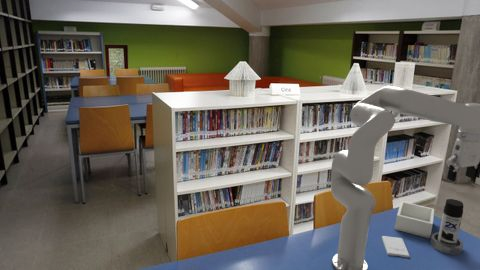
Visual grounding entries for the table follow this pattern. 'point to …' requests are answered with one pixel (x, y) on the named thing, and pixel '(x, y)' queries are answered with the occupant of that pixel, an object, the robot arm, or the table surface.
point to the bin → (415, 219)
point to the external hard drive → (395, 246)
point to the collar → (446, 248)
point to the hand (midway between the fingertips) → (460, 178)
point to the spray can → (450, 222)
